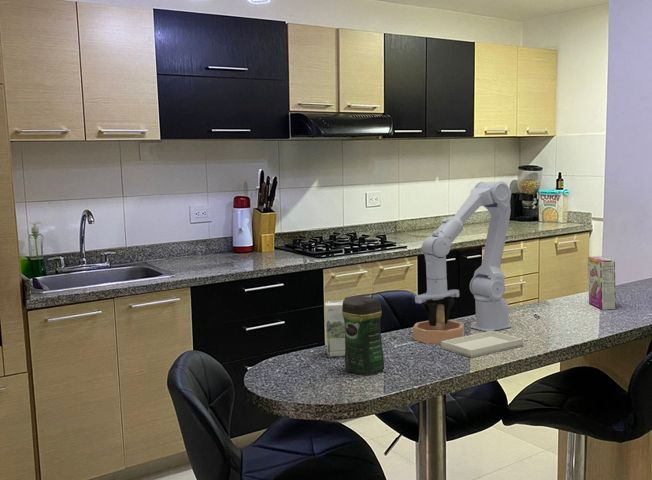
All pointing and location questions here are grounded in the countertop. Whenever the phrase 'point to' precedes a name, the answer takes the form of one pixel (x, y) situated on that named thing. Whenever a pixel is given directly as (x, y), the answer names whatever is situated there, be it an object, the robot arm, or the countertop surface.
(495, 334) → the cream tray
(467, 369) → the countertop surface
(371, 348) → the coffee jar
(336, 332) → the syrup box
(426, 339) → the octagonal open frame
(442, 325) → the wooden pin
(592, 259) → the candy bar box
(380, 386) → the countertop surface
